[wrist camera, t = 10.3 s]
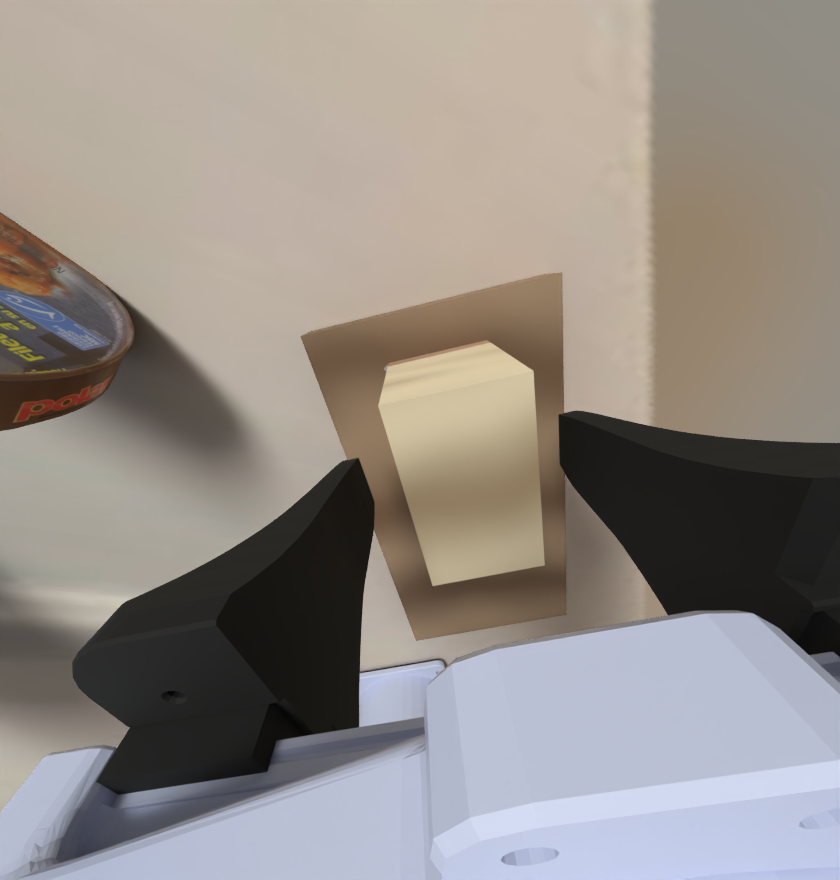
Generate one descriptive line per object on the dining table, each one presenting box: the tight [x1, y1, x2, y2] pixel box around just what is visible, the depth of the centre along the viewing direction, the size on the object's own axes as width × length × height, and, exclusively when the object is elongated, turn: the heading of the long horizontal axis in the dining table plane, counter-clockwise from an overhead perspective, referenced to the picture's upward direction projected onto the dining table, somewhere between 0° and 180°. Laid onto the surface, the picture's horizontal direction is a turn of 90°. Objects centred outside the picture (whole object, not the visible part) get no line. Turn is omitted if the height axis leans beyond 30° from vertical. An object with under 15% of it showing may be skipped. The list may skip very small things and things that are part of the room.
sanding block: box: [378, 340, 545, 586], centre depth 12 cm, size 7×4×5 cm, turn 13°
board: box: [301, 273, 566, 641], centre depth 17 cm, size 20×10×2 cm, turn 13°
